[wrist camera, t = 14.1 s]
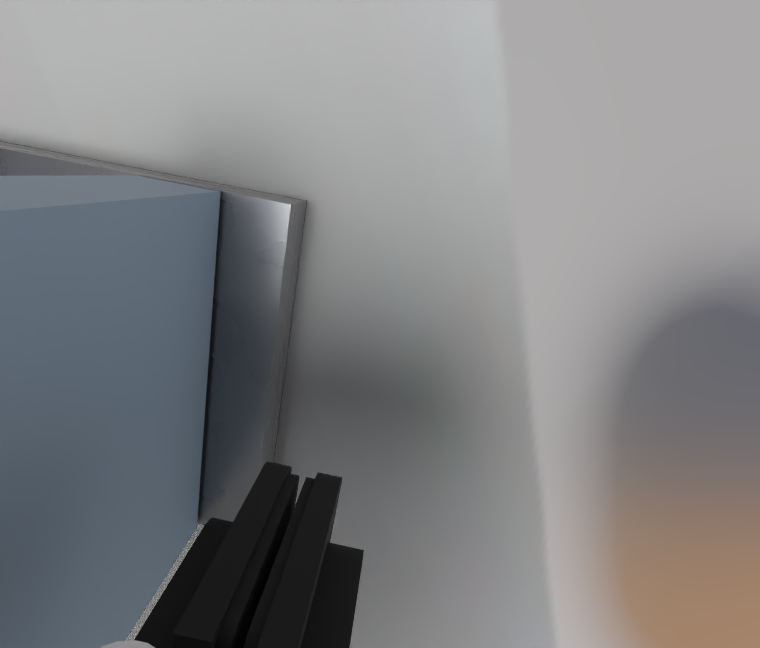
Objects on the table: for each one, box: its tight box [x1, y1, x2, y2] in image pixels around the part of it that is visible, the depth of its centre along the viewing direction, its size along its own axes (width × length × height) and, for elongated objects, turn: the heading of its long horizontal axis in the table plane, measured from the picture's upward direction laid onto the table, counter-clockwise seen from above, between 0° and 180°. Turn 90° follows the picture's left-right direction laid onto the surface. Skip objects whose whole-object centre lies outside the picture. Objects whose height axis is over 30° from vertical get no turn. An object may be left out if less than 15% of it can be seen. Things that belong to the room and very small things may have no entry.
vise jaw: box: [0, 175, 221, 648], centre depth 11 cm, size 12×2×9 cm, turn 170°
